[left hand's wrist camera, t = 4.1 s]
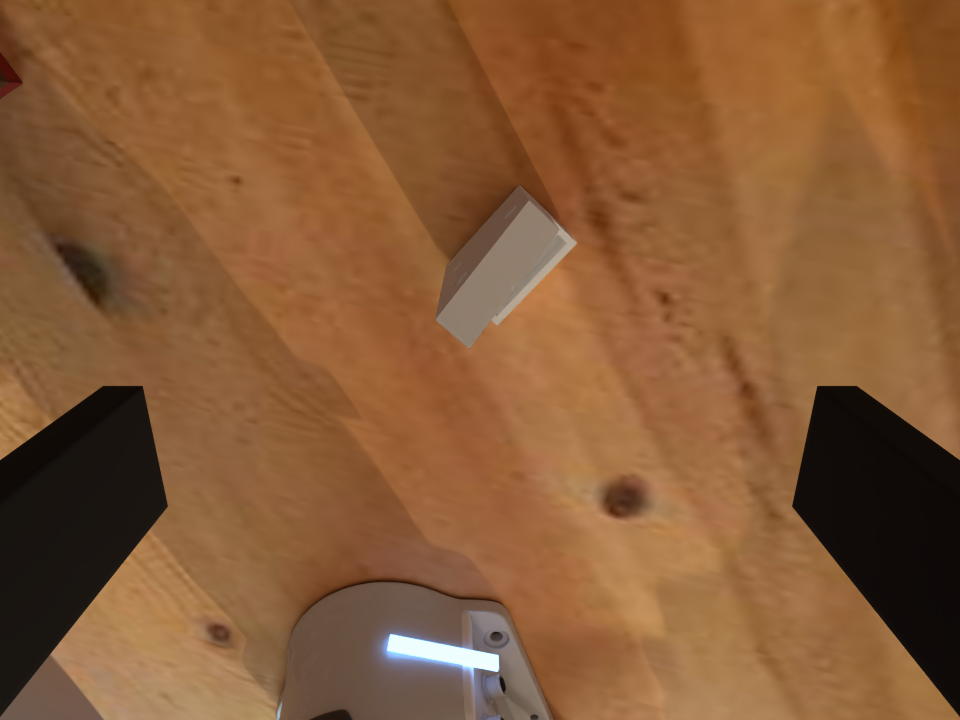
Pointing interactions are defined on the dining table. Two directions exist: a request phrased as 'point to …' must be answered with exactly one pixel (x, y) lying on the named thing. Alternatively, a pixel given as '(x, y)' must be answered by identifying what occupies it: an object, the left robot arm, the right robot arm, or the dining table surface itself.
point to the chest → (7, 78)
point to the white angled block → (500, 266)
